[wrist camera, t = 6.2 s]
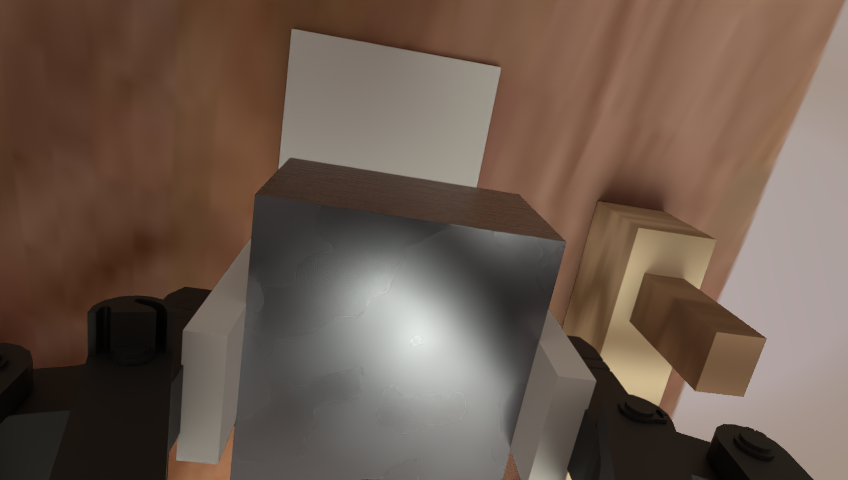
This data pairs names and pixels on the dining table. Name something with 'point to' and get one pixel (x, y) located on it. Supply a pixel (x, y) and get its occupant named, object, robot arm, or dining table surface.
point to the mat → (386, 109)
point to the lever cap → (387, 326)
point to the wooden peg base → (657, 306)
